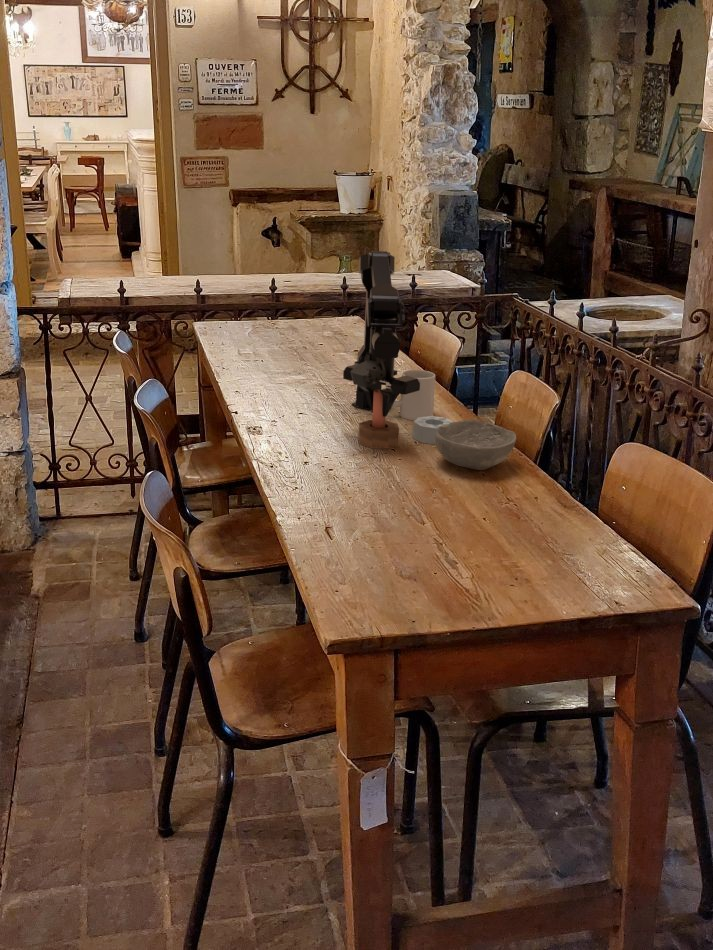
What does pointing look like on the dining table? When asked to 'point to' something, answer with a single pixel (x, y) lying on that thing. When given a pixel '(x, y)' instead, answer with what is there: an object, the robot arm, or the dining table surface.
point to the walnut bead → (378, 435)
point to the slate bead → (428, 428)
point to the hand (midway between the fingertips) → (379, 414)
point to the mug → (418, 396)
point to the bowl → (474, 443)
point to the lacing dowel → (378, 411)
